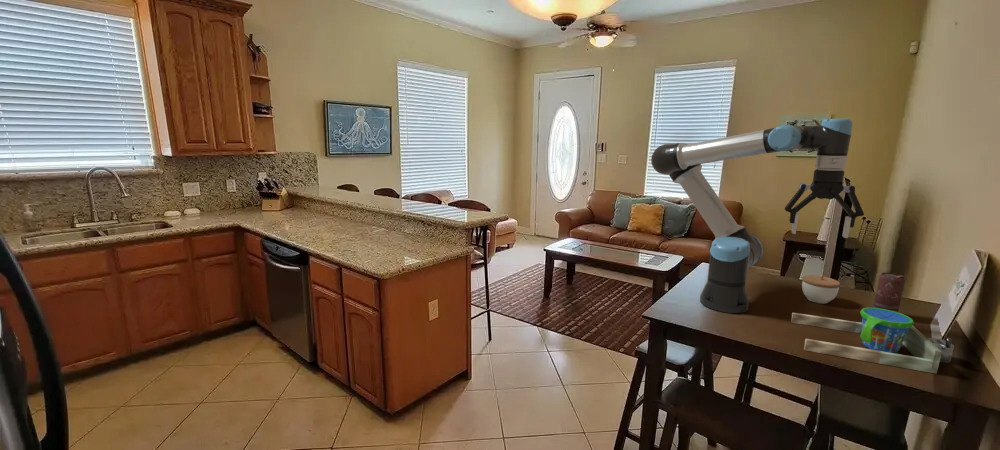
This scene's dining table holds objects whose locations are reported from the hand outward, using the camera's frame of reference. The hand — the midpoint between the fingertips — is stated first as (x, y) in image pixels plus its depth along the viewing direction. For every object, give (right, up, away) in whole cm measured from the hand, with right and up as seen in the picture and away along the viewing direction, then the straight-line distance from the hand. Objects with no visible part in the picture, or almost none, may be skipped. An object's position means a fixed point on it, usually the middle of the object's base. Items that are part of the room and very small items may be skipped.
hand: (818, 235), depth 134 cm
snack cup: (+3, -32, -18) cm, 37 cm away
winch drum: (+14, -32, -23) cm, 42 cm away
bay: (-3, -31, -16) cm, 35 cm away
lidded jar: (+11, -24, +16) cm, 31 cm away
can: (+24, -27, +3) cm, 36 cm away
